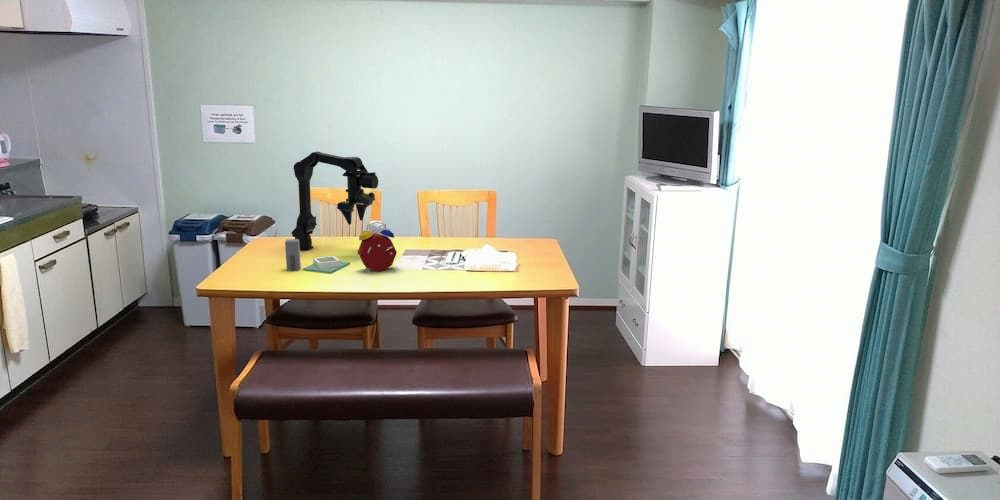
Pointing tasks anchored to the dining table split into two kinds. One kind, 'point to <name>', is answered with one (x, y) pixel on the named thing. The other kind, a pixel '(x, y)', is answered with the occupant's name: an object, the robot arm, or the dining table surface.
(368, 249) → the alarm clock
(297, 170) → the robot arm
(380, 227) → the photo printer
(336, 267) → the header board
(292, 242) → the grey rectangular block
